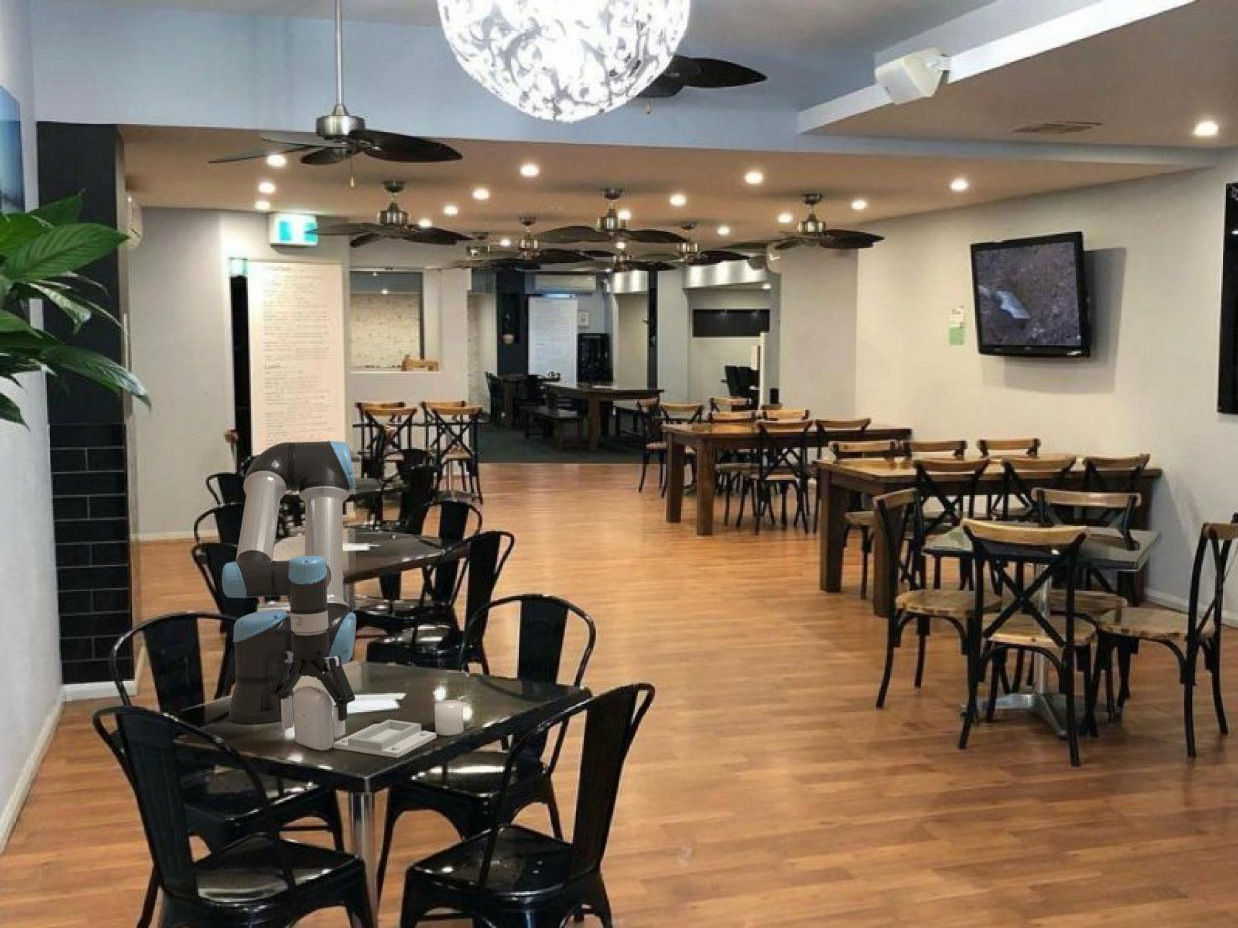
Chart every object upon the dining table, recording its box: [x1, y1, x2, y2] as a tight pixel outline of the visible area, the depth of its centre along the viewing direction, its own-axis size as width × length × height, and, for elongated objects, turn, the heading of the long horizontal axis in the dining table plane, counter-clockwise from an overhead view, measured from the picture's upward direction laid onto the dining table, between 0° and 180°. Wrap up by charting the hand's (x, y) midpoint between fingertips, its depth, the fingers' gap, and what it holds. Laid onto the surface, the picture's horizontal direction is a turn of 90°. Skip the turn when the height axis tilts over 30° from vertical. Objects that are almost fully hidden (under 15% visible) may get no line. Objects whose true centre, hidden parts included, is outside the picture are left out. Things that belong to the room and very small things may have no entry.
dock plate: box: [332, 719, 437, 758], centre depth 249 cm, size 16×14×2 cm
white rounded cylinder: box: [434, 699, 464, 736], centre depth 257 cm, size 6×6×6 cm
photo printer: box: [293, 685, 335, 752], centre depth 248 cm, size 10×4×12 cm, turn 47°
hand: (313, 731), depth 248 cm, fingers open, 13 cm apart
